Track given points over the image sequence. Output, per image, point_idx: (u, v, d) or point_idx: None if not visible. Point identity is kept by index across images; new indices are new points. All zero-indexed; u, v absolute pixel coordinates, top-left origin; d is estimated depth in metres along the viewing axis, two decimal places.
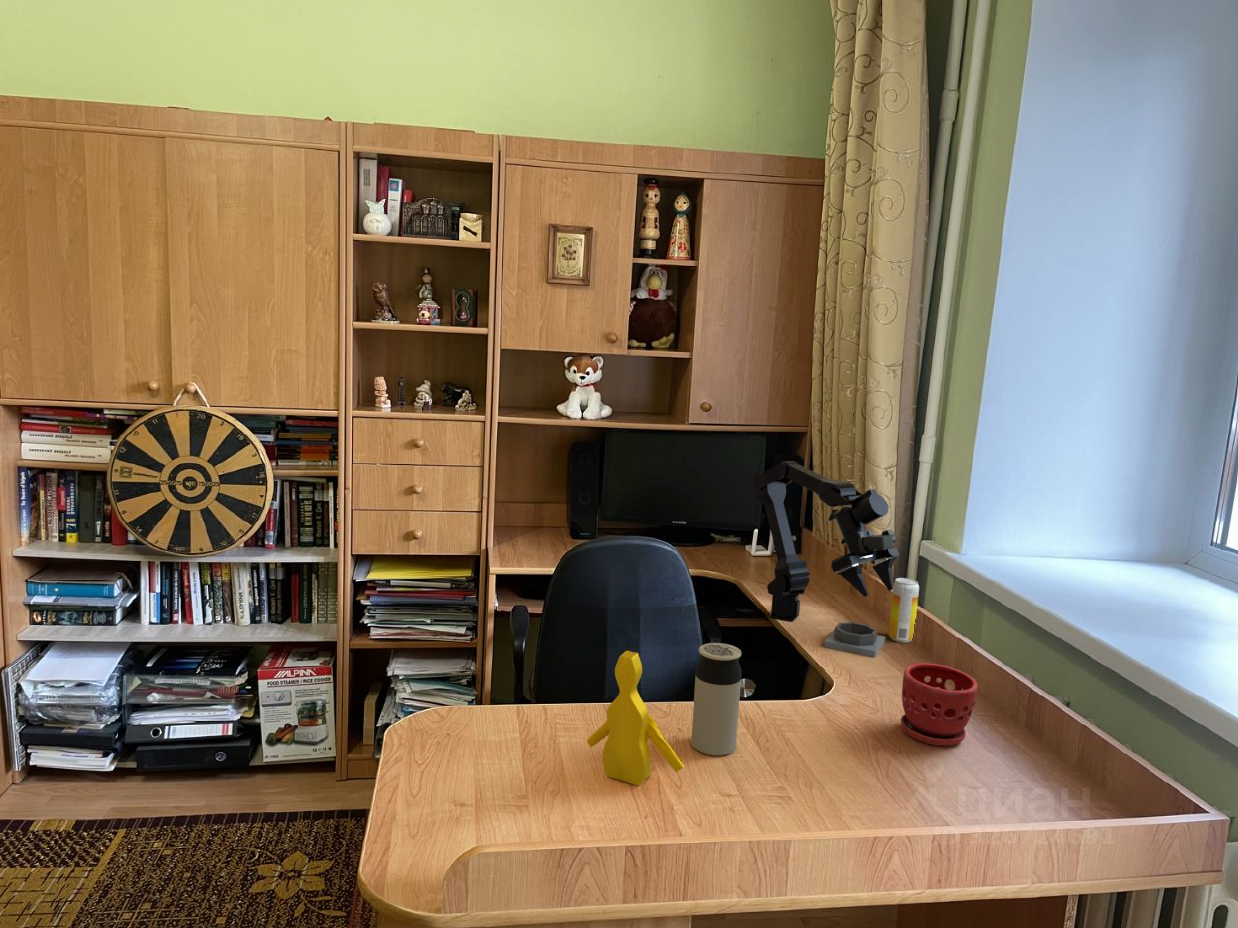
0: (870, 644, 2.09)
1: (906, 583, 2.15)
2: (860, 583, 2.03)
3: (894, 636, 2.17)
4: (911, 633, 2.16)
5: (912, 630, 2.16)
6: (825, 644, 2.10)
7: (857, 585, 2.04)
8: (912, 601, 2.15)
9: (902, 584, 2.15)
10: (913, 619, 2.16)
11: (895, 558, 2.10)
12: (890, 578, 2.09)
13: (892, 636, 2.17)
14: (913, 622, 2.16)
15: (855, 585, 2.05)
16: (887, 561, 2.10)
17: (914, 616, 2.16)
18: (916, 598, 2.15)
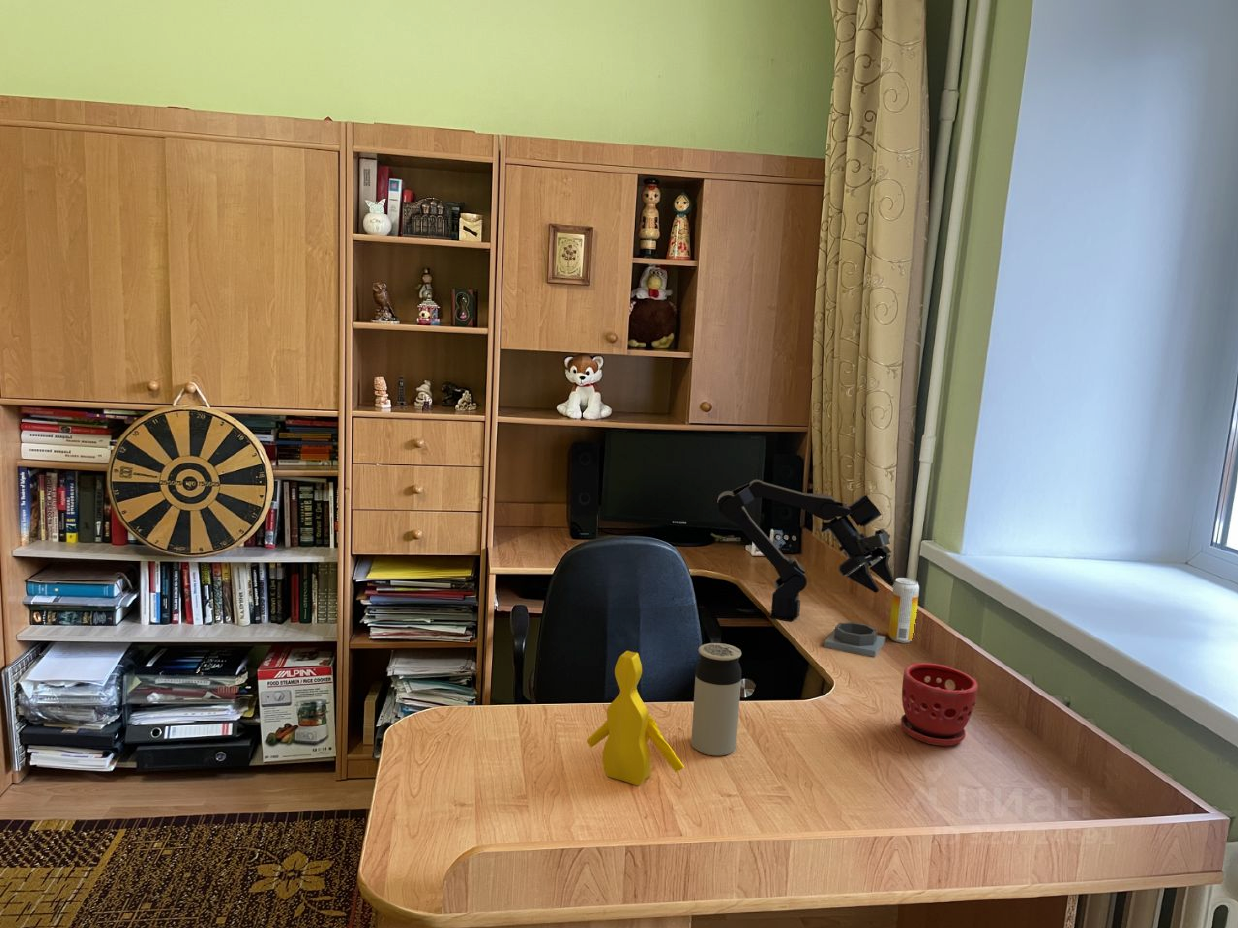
0: (870, 644, 2.09)
1: (906, 583, 2.15)
2: (870, 581, 2.17)
3: (894, 636, 2.17)
4: (911, 633, 2.16)
5: (912, 630, 2.16)
6: (825, 644, 2.10)
7: (867, 583, 2.18)
8: (912, 601, 2.15)
9: (902, 584, 2.15)
10: (913, 619, 2.16)
11: (889, 555, 2.27)
12: (890, 574, 2.25)
13: (892, 636, 2.17)
14: (913, 622, 2.16)
15: (865, 584, 2.18)
16: (883, 559, 2.26)
17: (914, 616, 2.16)
18: (916, 598, 2.15)
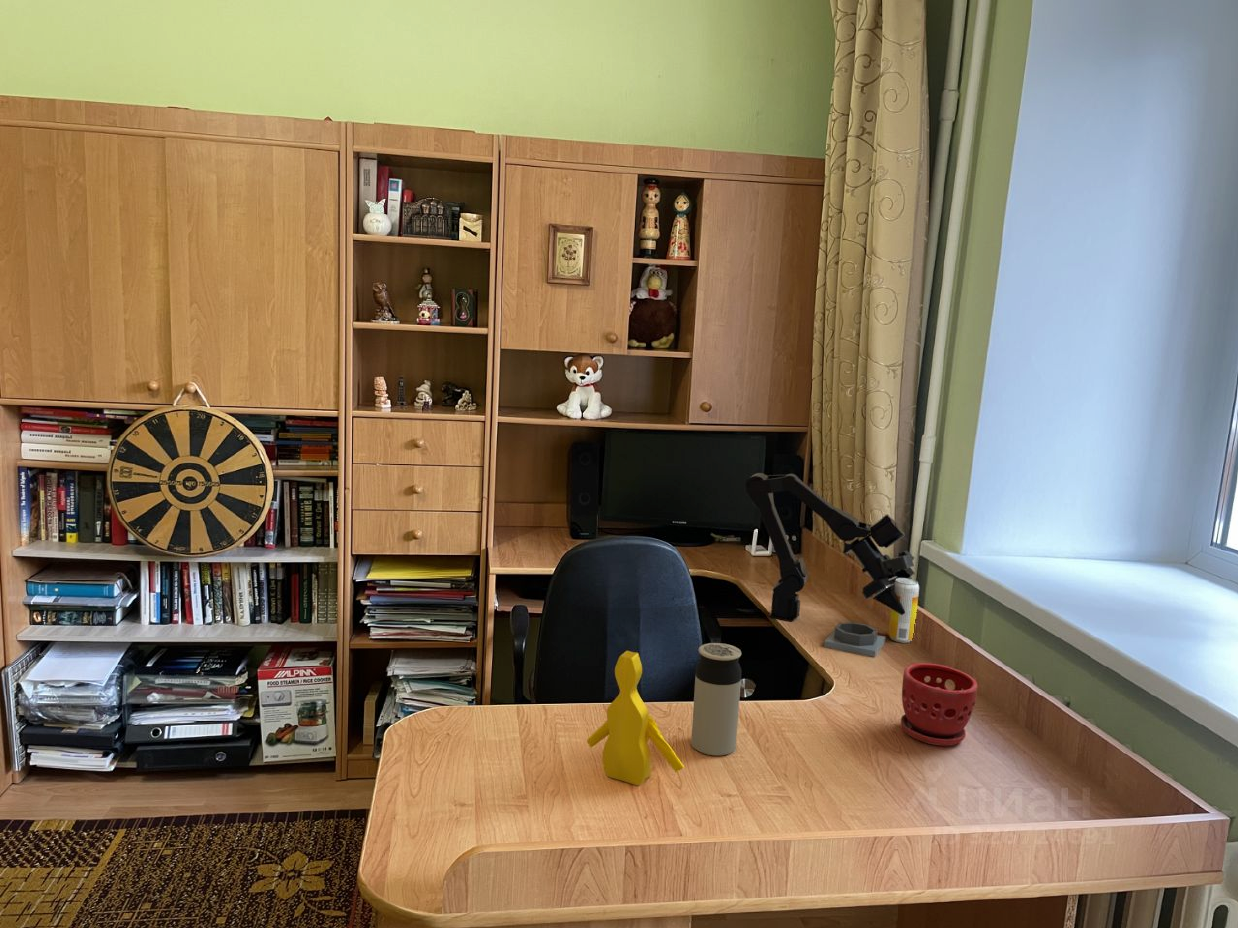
0: (870, 644, 2.09)
1: (906, 583, 2.15)
2: (896, 602, 2.14)
3: (894, 636, 2.17)
4: (911, 633, 2.16)
5: (912, 630, 2.16)
6: (825, 644, 2.10)
7: (893, 605, 2.15)
8: (912, 601, 2.15)
9: (902, 584, 2.15)
10: (913, 619, 2.16)
11: (910, 578, 2.22)
12: None
13: (892, 636, 2.17)
14: (913, 622, 2.16)
15: (891, 606, 2.15)
16: None
17: (914, 616, 2.16)
18: (916, 598, 2.15)
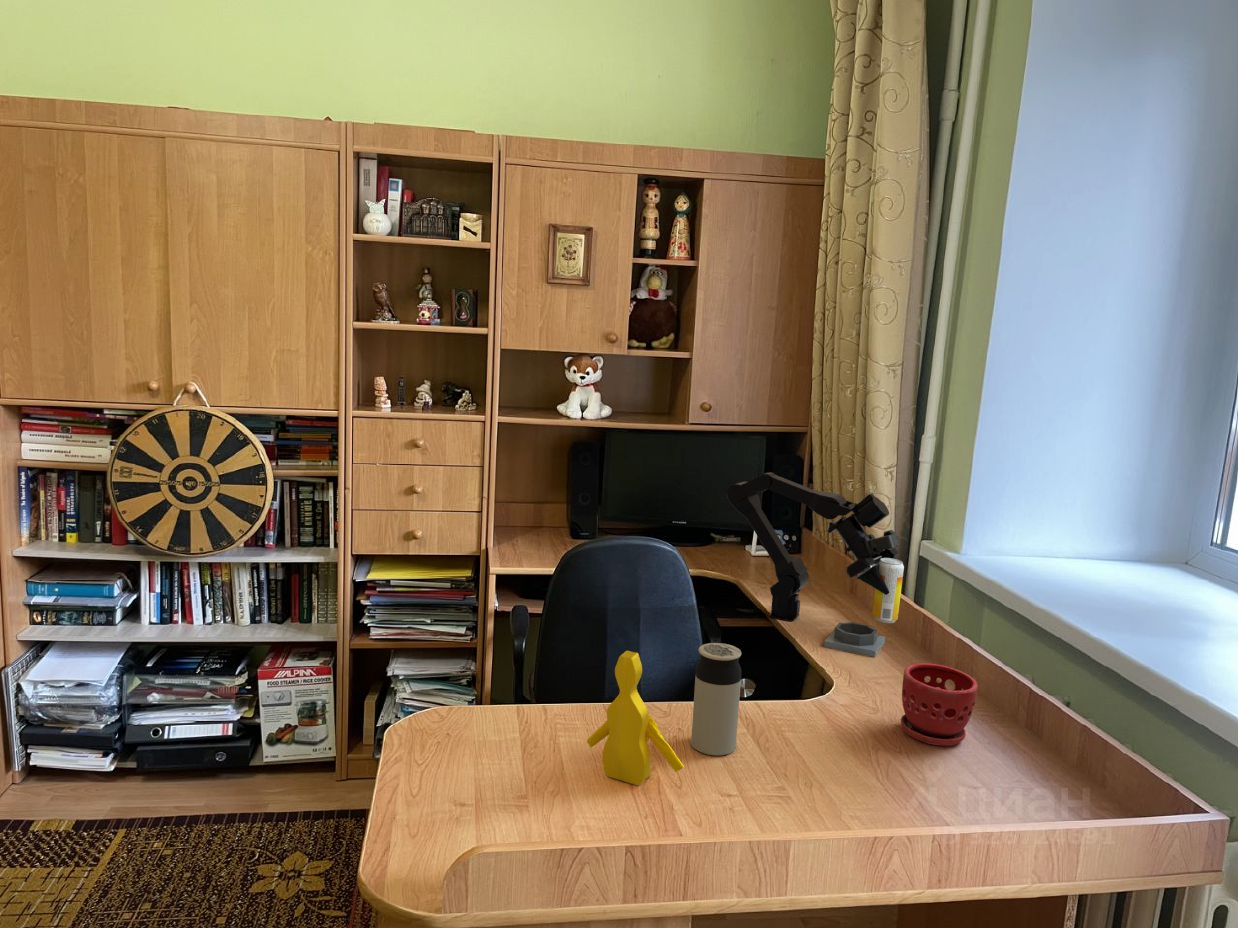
0: (870, 644, 2.09)
1: (891, 563, 2.12)
2: (880, 582, 2.12)
3: (878, 616, 2.14)
4: (895, 613, 2.14)
5: (896, 610, 2.14)
6: (825, 644, 2.10)
7: (877, 585, 2.12)
8: (896, 582, 2.12)
9: (887, 564, 2.12)
10: (897, 599, 2.13)
11: (895, 558, 2.19)
12: None
13: (876, 616, 2.15)
14: (897, 602, 2.13)
15: (875, 585, 2.13)
16: None
17: (898, 596, 2.13)
18: (901, 578, 2.12)
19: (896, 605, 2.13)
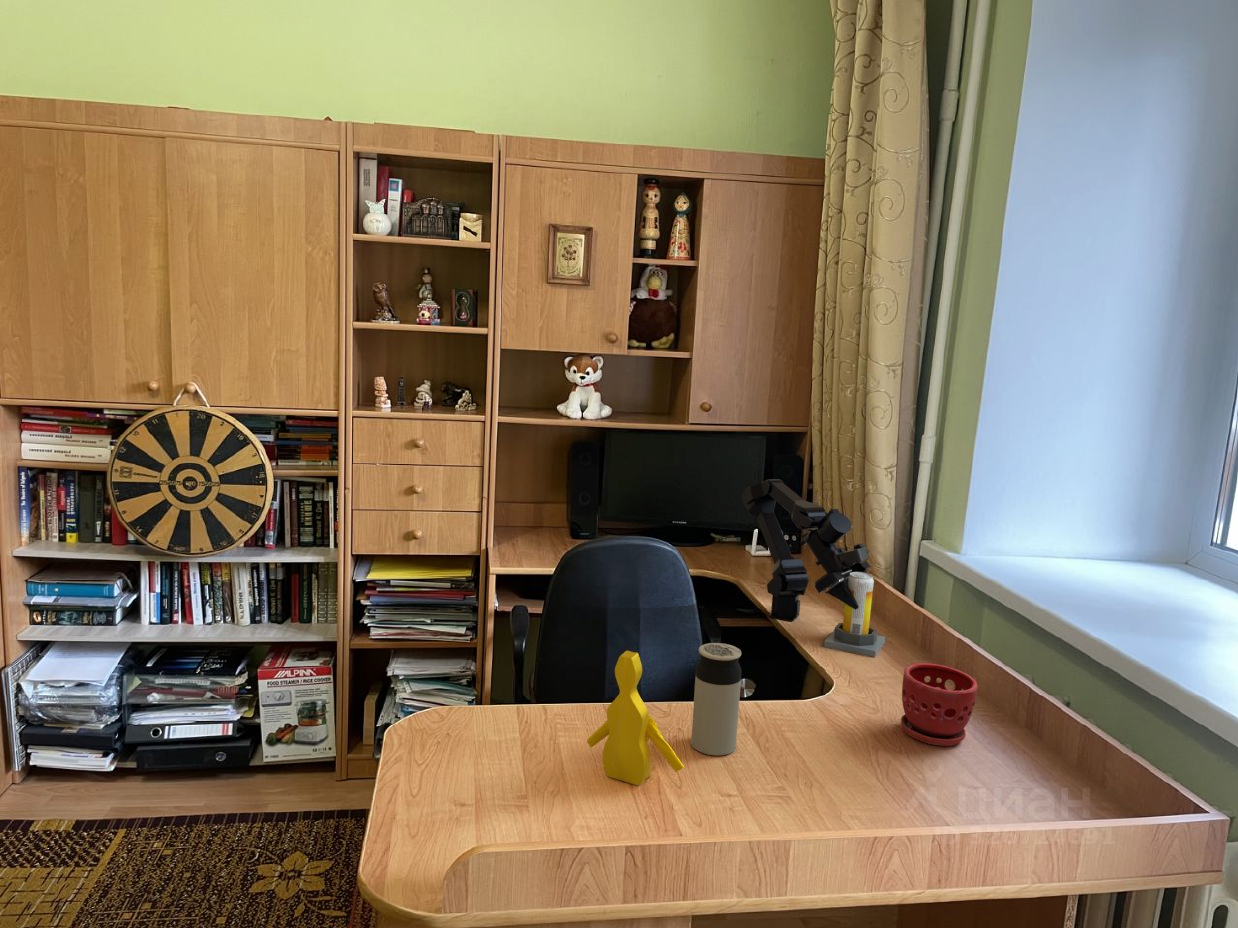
0: (870, 644, 2.09)
1: (860, 577, 2.09)
2: (849, 597, 2.08)
3: (848, 631, 2.11)
4: (865, 628, 2.10)
5: (866, 625, 2.10)
6: (825, 644, 2.10)
7: (846, 600, 2.09)
8: (866, 596, 2.09)
9: (856, 578, 2.09)
10: (867, 614, 2.10)
11: (866, 571, 2.16)
12: None
13: (846, 631, 2.12)
14: (867, 617, 2.10)
15: (844, 600, 2.09)
16: None
17: (868, 611, 2.10)
18: (870, 593, 2.09)
19: (866, 620, 2.10)
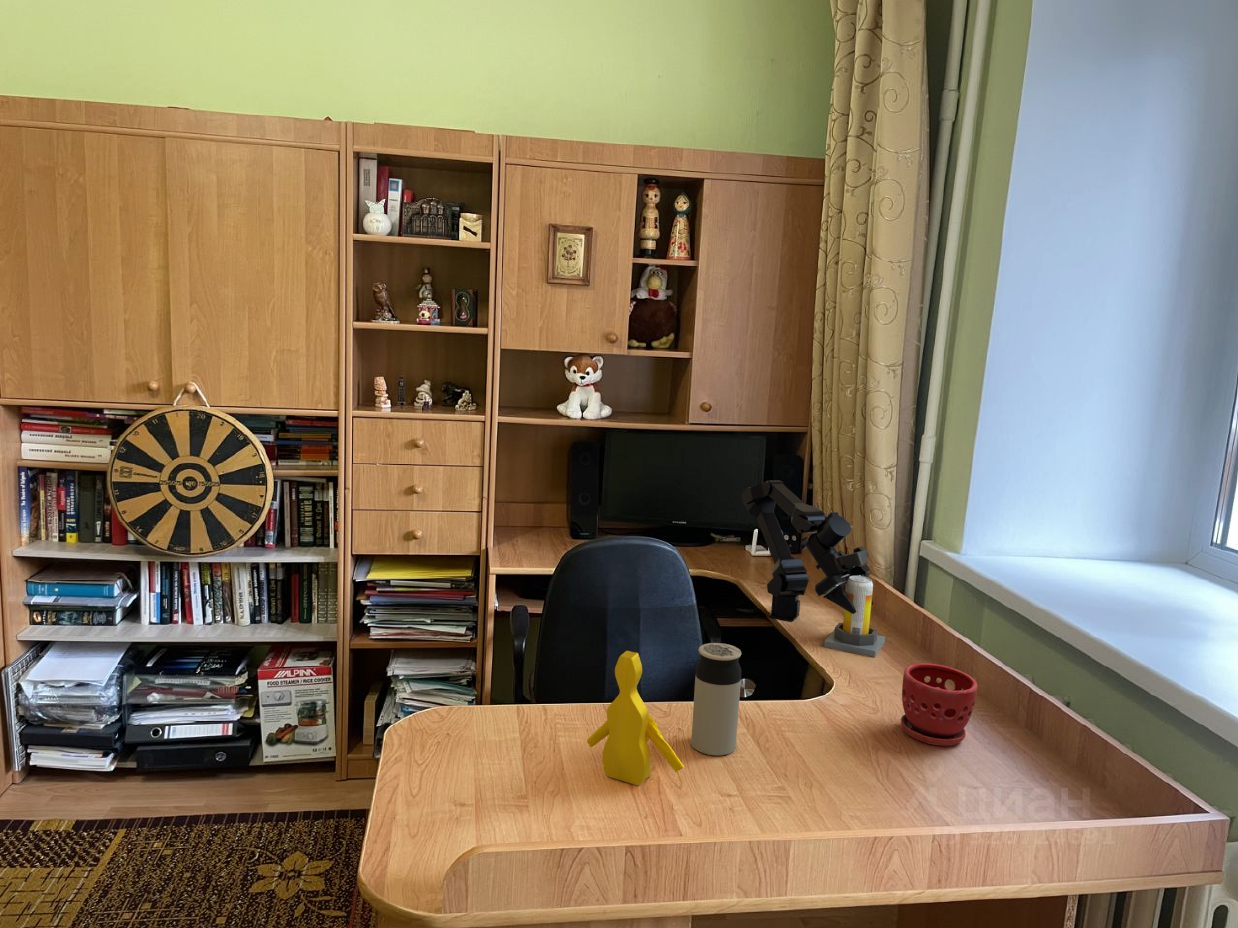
0: (870, 644, 2.09)
1: (859, 581, 2.09)
2: (847, 601, 2.07)
3: None
4: (865, 632, 2.10)
5: (866, 629, 2.10)
6: (825, 644, 2.10)
7: (844, 604, 2.08)
8: (865, 600, 2.09)
9: (855, 582, 2.09)
10: (867, 618, 2.10)
11: (868, 574, 2.17)
12: None
13: None
14: (867, 621, 2.10)
15: (842, 604, 2.08)
16: None
17: (868, 615, 2.10)
18: (870, 596, 2.09)
19: (865, 624, 2.10)
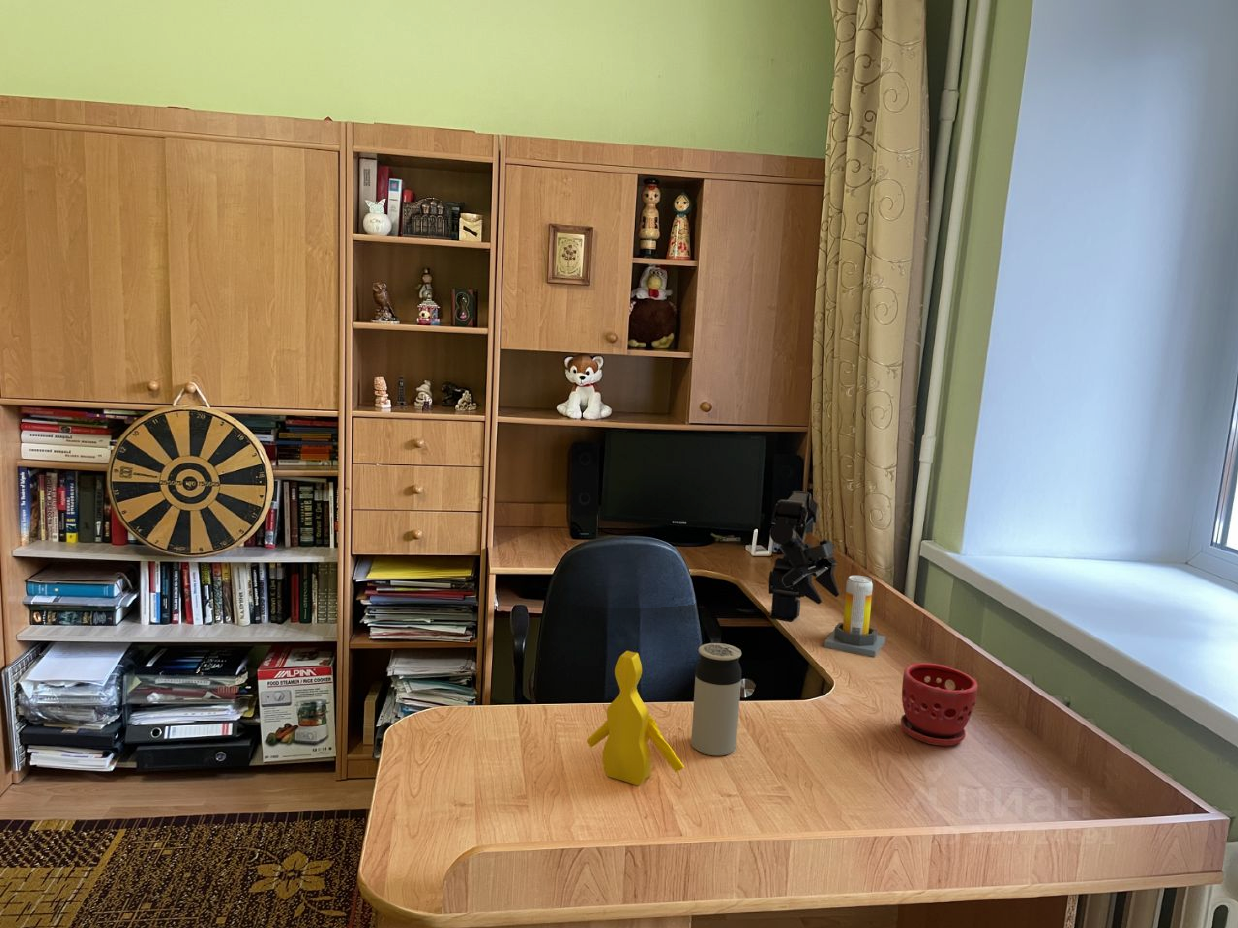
0: (870, 644, 2.09)
1: (859, 581, 2.09)
2: (813, 592, 2.13)
3: None
4: (865, 632, 2.10)
5: (866, 629, 2.10)
6: (825, 644, 2.10)
7: (810, 595, 2.14)
8: (865, 600, 2.09)
9: (855, 582, 2.09)
10: (867, 618, 2.10)
11: (834, 566, 2.23)
12: (834, 585, 2.21)
13: None
14: (867, 621, 2.10)
15: (808, 595, 2.14)
16: (828, 570, 2.22)
17: (868, 615, 2.10)
18: (869, 596, 2.09)
19: (865, 624, 2.10)
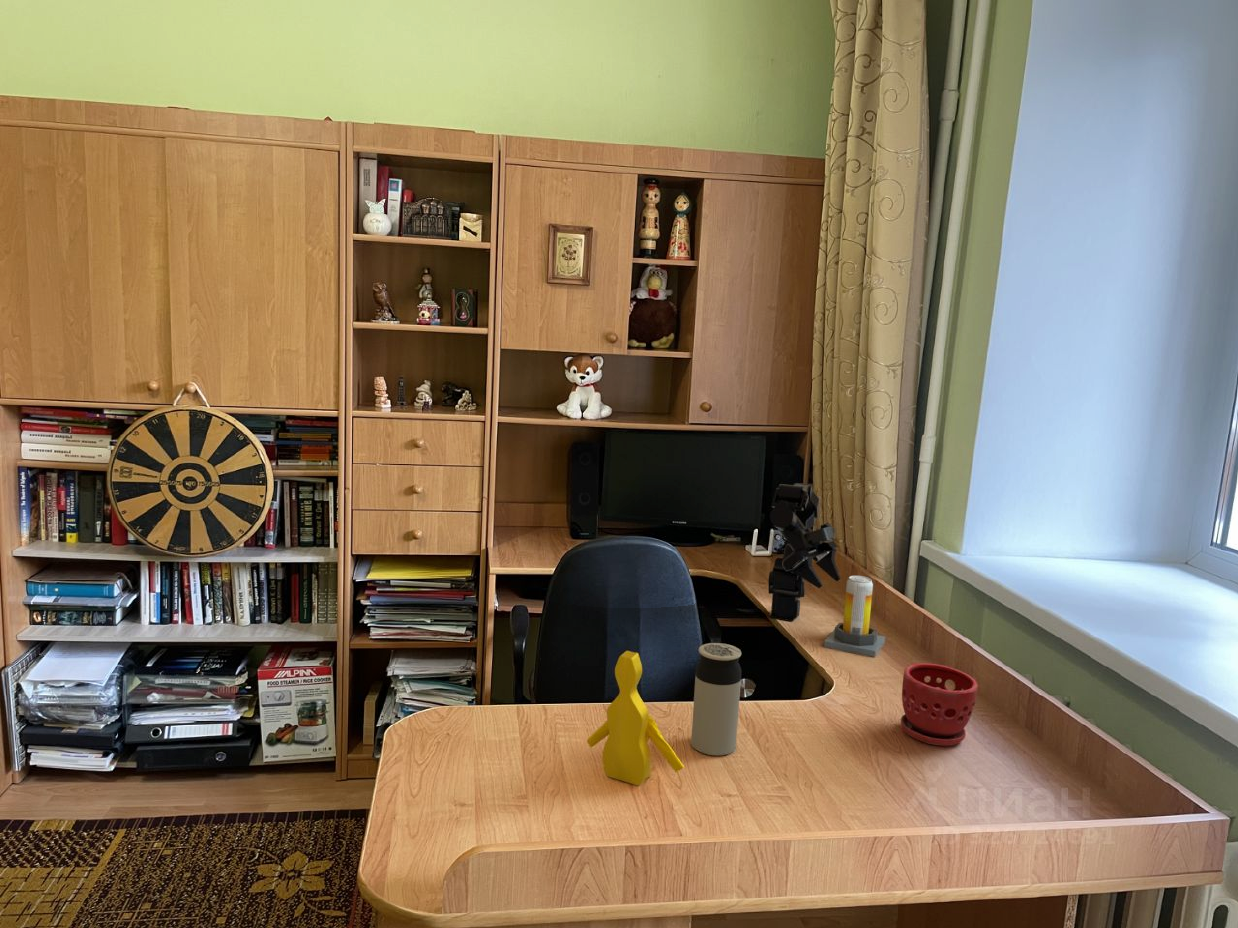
0: (870, 644, 2.09)
1: (859, 581, 2.09)
2: (813, 576, 2.13)
3: None
4: (865, 632, 2.10)
5: (866, 629, 2.10)
6: (825, 644, 2.10)
7: (810, 578, 2.13)
8: (865, 600, 2.09)
9: (855, 582, 2.09)
10: (867, 618, 2.10)
11: (835, 550, 2.22)
12: (835, 569, 2.20)
13: None
14: (867, 621, 2.10)
15: (808, 579, 2.13)
16: (829, 554, 2.21)
17: (868, 615, 2.10)
18: (870, 596, 2.09)
19: (865, 624, 2.10)
